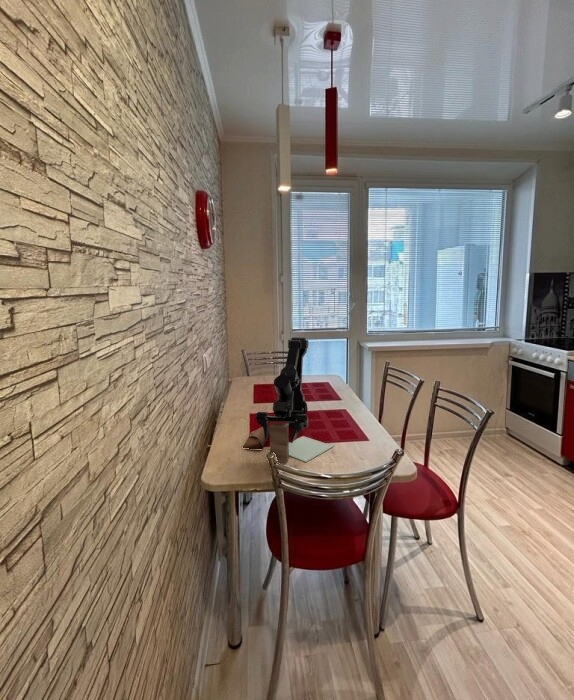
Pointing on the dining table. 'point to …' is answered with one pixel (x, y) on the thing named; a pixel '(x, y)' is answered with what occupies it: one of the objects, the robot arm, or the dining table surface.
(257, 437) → the sunglasses case
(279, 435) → the brown wooden block
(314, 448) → the mat
